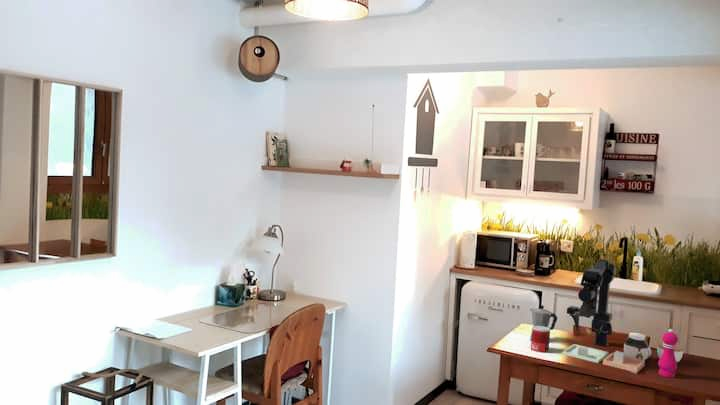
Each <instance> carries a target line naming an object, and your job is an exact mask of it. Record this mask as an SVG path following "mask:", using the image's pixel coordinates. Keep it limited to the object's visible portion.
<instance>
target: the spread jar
mask: <svg viewBox="0 0 720 405" xmlns="http://www.w3.org/2000/svg"><path fill="white" fill-rule="evenodd" d="M623 352H624V353H626V356H628V357H633V358H637V359H641V360H645V361H646V360H647V359H648V358H650V357H651V355H652V349H651V347H650V346H649V344H648V342H647V340H646V335H645V334H642V333H638V332H630V333H628V337H627V338H626V339H625V341H624V344H623Z"/></svg>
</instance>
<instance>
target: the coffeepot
mask: <svg viewBox="0 0 720 405" xmlns="http://www.w3.org/2000/svg"><path fill="white" fill-rule="evenodd" d="M544 307H545V306H544V305H540V308H531V309H530V311H531V313H532V314H531V318H532V324H533V326H544V327H547V328H549V329H550V331H551V330H552V331H553V330H554V328H555V325H556V323H557V321H558V317H557V314H556V313H553V312H552V311H549V310H547V309H544ZM551 318H553V320H552V323H551V325H550V320H551ZM549 325H550V326H551V327H549ZM531 338H532V332H531V333H530V337H529V341H531Z"/></svg>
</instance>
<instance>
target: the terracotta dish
mask: <svg viewBox="0 0 720 405" xmlns="http://www.w3.org/2000/svg"><path fill="white" fill-rule="evenodd" d="M613 359H614V352H611V353H609V355H608V356H606V357H605V358H604V359H603V360H602V365H603V366H604V365H605V366H608V367H613V368H616V369H617V368H618V369H621V370H626V371H628V372H629V373H631V374H635V375H637V374H638V373H639V372H641V370H642V369H643V368H644V367H645V363H646V360H641V359H637V358H633V357H628V356H626V358H625V362H624V363H623V364H621V363H617V362H613Z"/></svg>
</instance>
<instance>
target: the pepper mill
mask: <svg viewBox="0 0 720 405" xmlns="http://www.w3.org/2000/svg"><path fill="white" fill-rule="evenodd" d="M661 337H662V338H661V340H662V342H664V343H663V347H664V351H663V354H662V356H661V357H660V358H659V360H658V362H657V364H658V367H659V369H658V374H659V375H660V376H662V377H665V378H675V377H676V376H675V375H676V372H675V371H676V369H678V362H676V359H675V355H674V350H675V348H676V345H675V344H678V342H679V338H678V336H677V334H676V333H674V330H673V329H672V328H669V329H668V331H667V332H664V333H663V334H662V336H661Z"/></svg>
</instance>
